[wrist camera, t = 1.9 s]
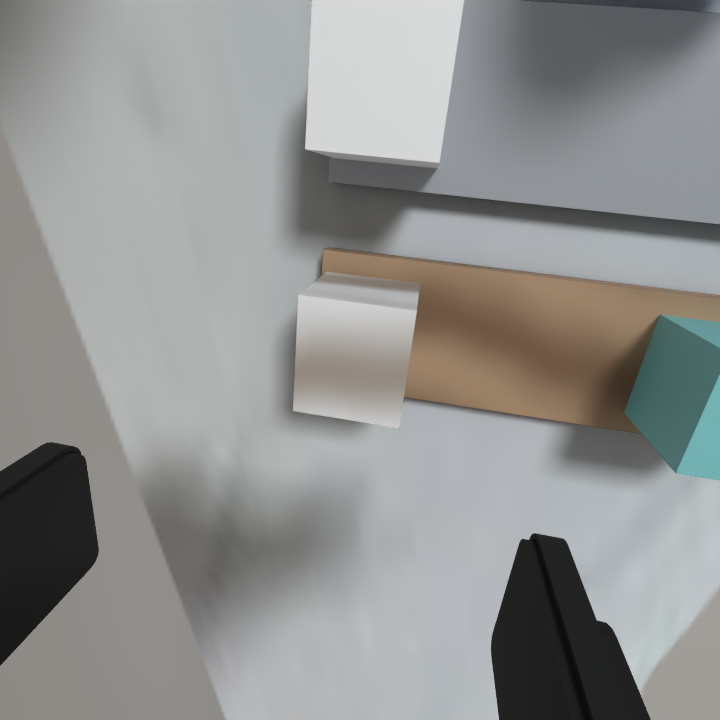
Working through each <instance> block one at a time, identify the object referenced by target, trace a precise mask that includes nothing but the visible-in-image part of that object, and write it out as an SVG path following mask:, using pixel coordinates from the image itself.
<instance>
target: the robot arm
mask: <svg viewBox="0 0 720 720" xmlns="http://www.w3.org/2000/svg"><path fill="white" fill-rule="evenodd" d="M98 550H99V548H98V541H97V534H96V527H95V520H94V513H93V506H92V500H91V493H90V485H89V478H88V471H87V465H86V460H85V457H84V456H82V455H81V452H80V450H79V449H78V448H76V447H74V446H69V445H63V444H58V443H53V442H52V443H46V444H43V445H41V446H40V447H38V448H37V449H35V450H33V451H32V452H31V453H29V454H28V455H26V456H24V457H22V458H21V459H19V460H18V461H16V462H15V463H13V464H11V465H10V466H8V467H7V468H5V469H3V470H2V471H0V665H1V664H2V663H3V662H4V661H5V660H6V659H7V658H8V657H9V656H10V655H11V653H12V652H13V651H14V650H15V649H16V648H17V647H18V646H19V645H20V644H21V643H22V642H23V641H24V640H25V638H26V637H27V636H28V635H29V634H30V633H31V632H32V631H33V629H35V628H36V627H37V625H38V624H39V623H40V622H41V621H42V620H43V619H44V618H45V617H46V616H47V615H48V613H50V611H51V610H52V609H53V608H54V607H55V606H56V605H57V604H58V603H59V602H60V601H61V600H62V599H63V597H64V596H65V595H66V594H67V593H68V592H69V591H70V590H71V589H72V588H73V587H74V585H76V583H77V582H78V581H79V580H80V579H81V578H82V577H83V576H84V575H85V574H86V573H87V572H88V571H89V569H90V568H91V567H92V566H93V564H94V563H95V561H96V559H97V556H98ZM491 656H492V664H493V673H494V681H495V689H496V697H497V705H498V713H499V720H650V717H649V715H648V712H647V710H646V707H645V705H644V702H643V700H642V698H641V695H640V693H639V690H638V688H637V685H636V683H635V681H634V678H633V676H632V673H631V671H630V668H629V666H628V664H627V661H626V659H625V656H624V654H623V652H622V649H621V647H620V644H619V642H618V639H617V637H616V635H615V633H614V631H613V630H612V628H611V627H610V626H609V625H608V624H607V623H605V622H601V621H597V620H596V618H595V615H594V612H593V610H592V607H591V604H590V602H589V599H588V597H587V594H586V591H585V589H584V586H583V584H582V581H581V578H580V576H579V573H578V570H577V568H576V565H575V563H574V560H573V557H572V555H571V552H570V549H569V547H568V544H567V542H566V541H565V540H564V539H562V538H557V537H551V536H546V535H541V534H535V533H534V534H532V535H531V537H530V539H529V540H525V539H522V540H521V541H520V543H519V546H518V550H517V553H516V556H515V560H514V563H513V566H512V570H511V573H510V577H509V580H508V583H507V587H506V590H505V594H504V597H503V600H502V604H501V607H500V610H499V614H498V617H497V621H496V624H495V627H494V631H493V635H492V641H491Z"/></svg>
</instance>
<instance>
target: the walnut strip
mask: <svg viewBox="0 0 720 720" xmlns="http://www.w3.org/2000/svg"><path fill="white" fill-rule="evenodd" d="M660 315H668V316H676V317H684V318H691V319H699V320H707V321H715V322H720V295H712V294H704V293H696V292H687V291H679V290H671V289H663V288H655V287H647V286H639V285H631V284H622V283H614V282H606V281H598V280H590V279H582V278H574V277H566V276H558V275H549V274H541V273H533V272H525V271H517V270H509V269H501V268H493V267H484V266H476V265H468V264H460V263H452V262H444V261H436V260H428V259H420V258H411V257H403V256H395V255H387V254H379V253H371V252H363V251H355V250H346V249H338V248H330V247H327V248H326V249H324V250H323V262H322V276H321V277H320V278H318V279H317V280H316V281H315V282H313V283H312V284H311V285H310V286H309V287H307V288H306V289H305V290H304V291H302V292H301V293H300V294H299V295H298V311H297V332H296V354H295V375H294V397H293V411H296V412H302V413H308V414H315V415H321V416H327V417H333V418H339V419H345V420H351V421H358V422H364V423H370V424H376V425H382V426H388V427H394V428H399V426H400V419H401V412H402V406H403V399H404V397H408V398H414V399H421V400H427V401H434V402H440V403H446V404H453V405H459V406H466V407H472V408H479V409H485V410H491V411H498V412H504V413H511V414H517V415H524V416H530V417H537V418H543V419H549V420H556V421H562V422H569V423H575V424H582V425H588V426H594V427H601V428H607V429H614V430H620V431H627V432H633V433H639V434H642V433H641V432H640V431H639V430H638V428H637V427H636V426H635V425H634V424H633V423H632V421H631V420H630V419H629V418H628V417H627V416H626V414H625V413H624V411H625V408H626V405H627V403H628V400H629V397H630V395H631V392H632V389H633V386H634V384H635V381H636V378H637V376H638V373H639V370H640V367H641V365H642V362H643V359H644V356H645V354H646V351H647V348H648V346H649V343H650V340H651V337H652V335H653V332H654V329H655V327H656V324H657V321H658V318H659V316H660Z"/></svg>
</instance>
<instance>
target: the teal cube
mask: <svg viewBox="0 0 720 720" xmlns="http://www.w3.org/2000/svg"><path fill="white" fill-rule="evenodd" d="M624 413H625V414H626V416H627V417H628V418H629V419H630V420H631V421H632V423H633V424H634V425H635V426H636V427H637V428H638V430H639V431H640V432H641V433H642V434H643V435H644V437H645V438H646V439H647V440H648V441H649V442H650V444H651V445H652V446H653V447H654V448H655V449H656V451H657V452H658V453H659V454H660V455H661V457H662V458H663V459H664V460H665V461H666V462H667V464H668V465H669V466H670V467H671V468H672V469H673V471H674V472H675V473H677V474H683V475H689V476H695V477H702V478H708V479H714V480H720V322H715V321H707V320H699V319H691V318H684V317H676V316H668V315H660V316H659V318H658V321H657V324H656V327H655V329H654V332H653V335H652V337H651V340H650V343H649V346H648V348H647V351H646V354H645V356H644V359H643V362H642V365H641V367H640V370H639V373H638V376H637V378H636V381H635V384H634V386H633V389H632V392H631V395H630V397H629V400H628V403H627V405H626V408H625V411H624Z"/></svg>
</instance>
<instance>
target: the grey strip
mask: <svg viewBox="0 0 720 720" xmlns="http://www.w3.org/2000/svg"><path fill="white" fill-rule="evenodd" d="M305 149H306V150H309V151H312V152H316V153H319V154H322V155H326V156H329V171H328V182H332V183H342V184H351V185H360V186H370V187H379V188H388V189H397V190H407V191H416V192H425V193H434V194H444V195H453V196H462V197H471V198H481V199H490V200H499V201H509V202H518V203H527V204H536V205H546V206H555V207H564V208H573V209H583V210H592V211H601V212H610V213H620V214H629V215H638V216H647V217H657V218H666V219H675V220H685V221H694V222H703V223H712V224H720V13H714V12H698V11H682V10H666V9H650V8H634V7H618V6H602V5H586V4H570V3H554V2H538V1H522V0H312V12H311V33H310V54H309V76H308V97H307V119H306V140H305Z"/></svg>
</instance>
